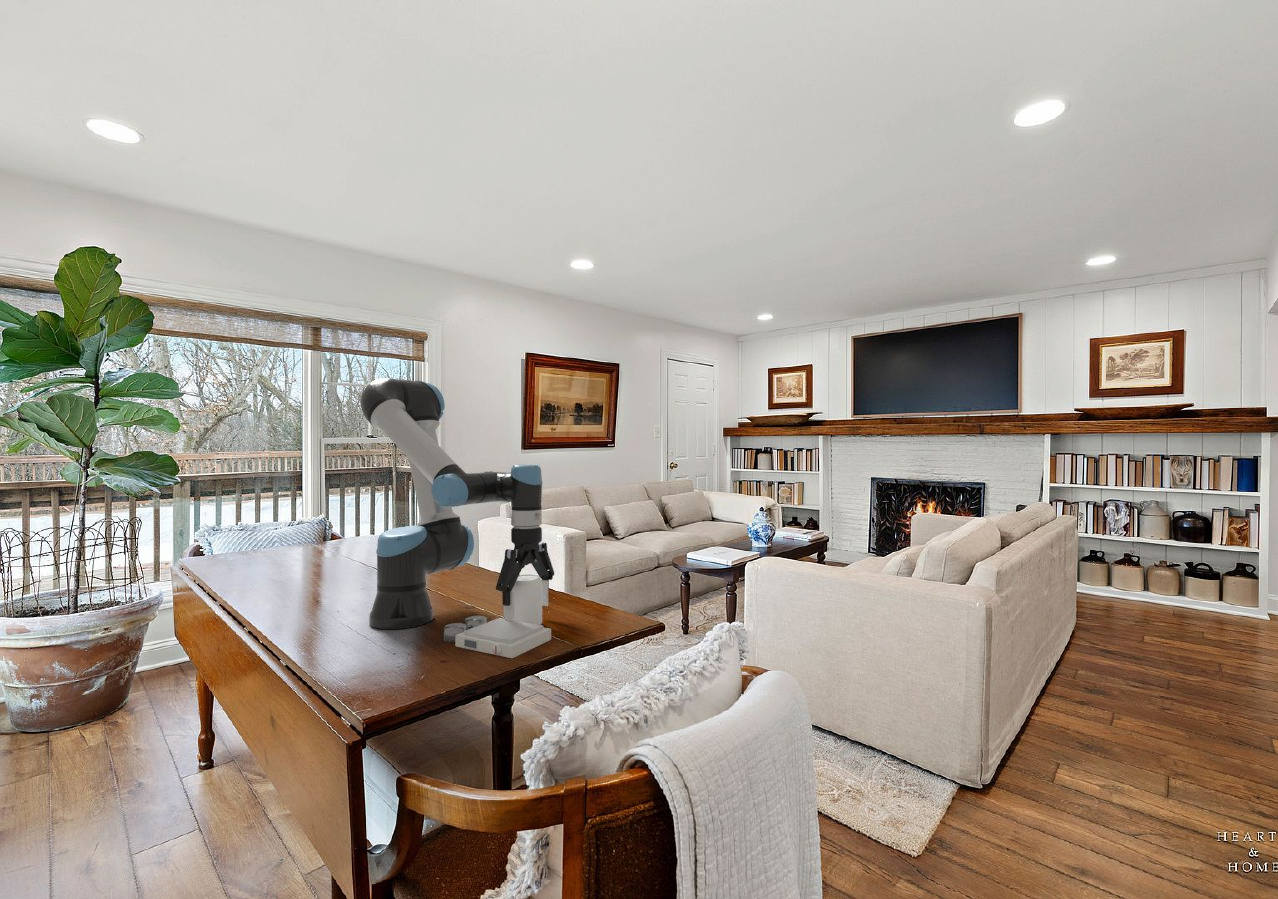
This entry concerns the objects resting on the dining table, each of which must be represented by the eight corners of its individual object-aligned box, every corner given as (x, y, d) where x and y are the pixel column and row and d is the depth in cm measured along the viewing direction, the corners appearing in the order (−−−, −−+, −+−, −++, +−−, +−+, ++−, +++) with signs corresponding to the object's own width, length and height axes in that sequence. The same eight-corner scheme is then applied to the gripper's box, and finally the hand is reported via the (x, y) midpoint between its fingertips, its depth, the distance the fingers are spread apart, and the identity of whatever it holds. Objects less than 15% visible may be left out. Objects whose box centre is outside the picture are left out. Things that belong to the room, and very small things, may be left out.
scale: (453, 647, 135) (453, 632, 135) (497, 629, 148) (497, 616, 148) (510, 659, 128) (510, 643, 128) (551, 639, 141) (551, 625, 141)
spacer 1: (439, 640, 140) (439, 627, 140) (454, 634, 145) (454, 622, 145) (455, 644, 138) (455, 630, 138) (470, 637, 142) (470, 625, 142)
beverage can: (535, 631, 147) (535, 581, 147) (503, 629, 149) (503, 580, 148) (546, 621, 155) (547, 574, 155) (516, 619, 156) (517, 573, 156)
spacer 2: (460, 632, 146) (460, 619, 146) (475, 626, 151) (475, 614, 151) (476, 635, 144) (476, 622, 144) (491, 629, 148) (491, 617, 148)
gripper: (505, 533, 139) (505, 626, 139) (567, 522, 161) (567, 602, 161) (480, 531, 142) (480, 622, 142) (544, 520, 164) (544, 598, 164)
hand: (526, 612), depth 152 cm, fingers open, 13 cm apart
